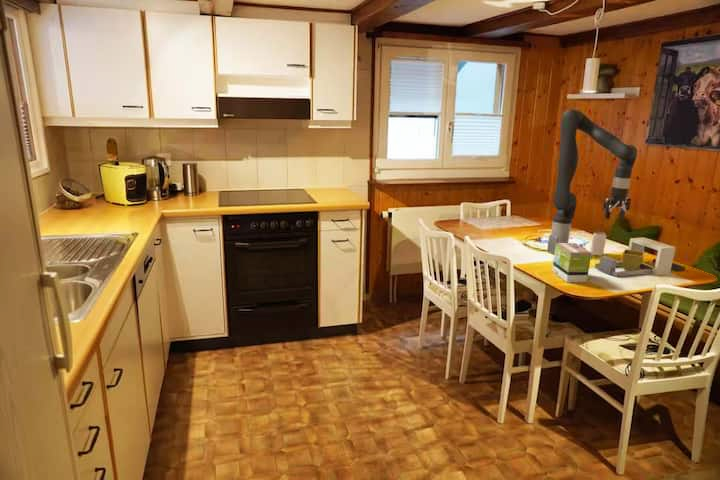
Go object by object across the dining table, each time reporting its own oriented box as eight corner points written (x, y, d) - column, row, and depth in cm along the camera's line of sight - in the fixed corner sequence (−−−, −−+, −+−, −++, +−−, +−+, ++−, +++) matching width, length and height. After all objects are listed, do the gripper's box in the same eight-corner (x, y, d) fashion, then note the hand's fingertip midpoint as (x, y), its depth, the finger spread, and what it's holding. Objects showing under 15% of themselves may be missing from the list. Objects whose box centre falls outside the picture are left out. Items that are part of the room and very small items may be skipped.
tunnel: (655, 275, 234) (661, 248, 231) (625, 263, 251) (630, 238, 247) (669, 273, 237) (675, 247, 233) (638, 262, 253) (643, 237, 250)
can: (598, 256, 261) (602, 235, 258) (587, 253, 266) (591, 232, 263) (605, 254, 265) (609, 233, 261) (594, 251, 270) (597, 230, 266)
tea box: (551, 271, 234) (555, 242, 230) (571, 271, 235) (575, 242, 231) (566, 282, 220) (571, 251, 216) (587, 283, 221) (592, 251, 217)
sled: (615, 276, 229) (617, 262, 227) (593, 267, 241) (595, 254, 239) (652, 273, 236) (655, 259, 234) (629, 264, 249) (631, 251, 247)
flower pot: (639, 274, 235) (642, 256, 232) (619, 270, 240) (622, 252, 237) (641, 269, 242) (644, 252, 239) (621, 266, 247) (625, 249, 244)
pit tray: (676, 271, 241) (677, 267, 241) (652, 262, 254) (653, 259, 253) (684, 270, 243) (685, 267, 242) (659, 261, 255) (660, 258, 255)
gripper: (614, 188, 233) (608, 221, 237) (638, 187, 237) (631, 220, 242) (603, 185, 240) (596, 217, 244) (626, 185, 244) (619, 216, 248)
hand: (614, 218), depth 243 cm, fingers open, 8 cm apart
